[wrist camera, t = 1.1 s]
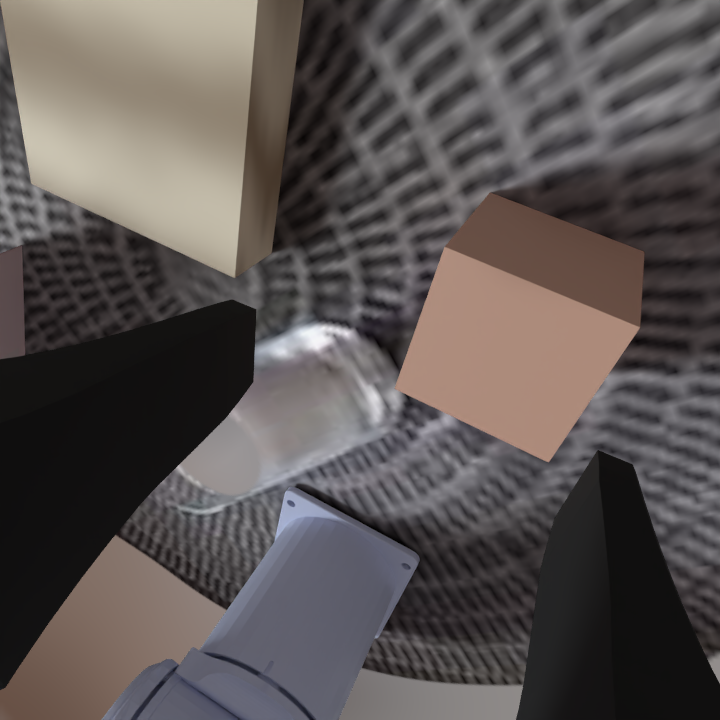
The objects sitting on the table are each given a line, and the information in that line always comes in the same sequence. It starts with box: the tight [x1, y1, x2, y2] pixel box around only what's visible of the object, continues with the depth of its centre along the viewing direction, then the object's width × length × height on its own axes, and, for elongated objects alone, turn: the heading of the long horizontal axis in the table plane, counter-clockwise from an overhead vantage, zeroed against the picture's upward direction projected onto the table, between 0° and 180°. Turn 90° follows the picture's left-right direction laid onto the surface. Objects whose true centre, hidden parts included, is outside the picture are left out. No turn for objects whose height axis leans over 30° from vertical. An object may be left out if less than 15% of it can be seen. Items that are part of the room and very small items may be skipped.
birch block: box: [0, 0, 304, 278], centre depth 20 cm, size 10×10×3 cm
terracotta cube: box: [395, 193, 644, 462], centre depth 17 cm, size 5×5×5 cm
